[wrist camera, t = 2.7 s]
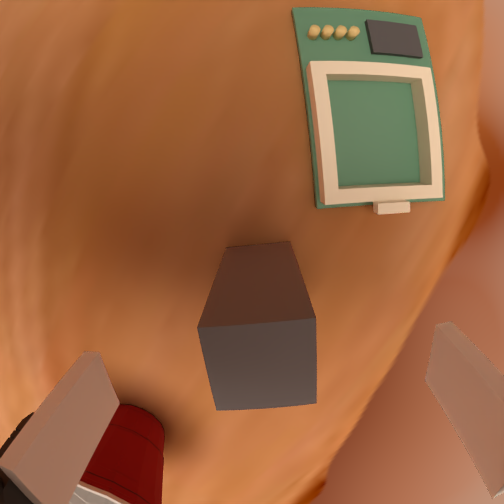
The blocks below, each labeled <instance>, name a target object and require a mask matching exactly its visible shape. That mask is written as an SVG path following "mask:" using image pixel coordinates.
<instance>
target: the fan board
mask: <svg viewBox="0 0 504 504" xmlns="http://www.w3.org/2000/svg"><path fill="white" fill-rule="evenodd" d="M292 17H293V22H294V28H295V34H296V40H297V47H298V53H299V60H300V66H301V73H302V80H303V88H304V95H305V103H306V112H307V120H308V129H309V138H310V148H311V158H312V169H313V180H314V192H315V206H316V208H317V209H322V208H335V207H348V206H361V205H373V212H374V213H376V214H378V215H379V214H393V213H407V212H410V202H425V201H445V179H444V156H443V142H442V131H441V121H440V112H439V104H438V97H437V90H436V84H435V78H434V73H433V67H432V62H431V57H430V52H429V48H428V43H427V39H426V35H425V31H424V27H423V23H422V20H421V18H419V17H414V16H408V15H402V14H395V13H388V12H380V11H371V10H360V9H346V8H320V7H299V8H292Z"/></svg>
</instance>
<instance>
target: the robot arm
mask: <svg viewBox="0 0 504 504" xmlns="http://www.w3.org/2000/svg"><path fill="white" fill-rule="evenodd" d="M425 382H426V383H427V385H428V386H429V388H430V390H431V391H432V393H433V394H434V396H435V398H436V399H437V401H438V402H439V404H440V406H441V407H442V409H443V411H444V412H445V414H446V416H447V417H448V419H449V421H450V422H451V424H452V426H453V427H454V429H455V431H456V432H457V434H458V436H459V438H460V439H461V441H462V443H463V444H464V446H465V448H466V450H467V452H468V454H469V455H470V457H471V459H472V460H473V463H474V464H475V466H476V468H477V470H478V472H479V473H480V475H481V477H482V479H483V481H484V483H485V485H486V487H487V489H488V491H489V493H490V495H491V497H492V498H494V497H496V496H498V495H500V494H502V493H504V375H503V374H502V373H501V372H500V371H499V370H498V369H497V368H496V367H495V366H494V364H493V363H491V361H490V360H489V359H488V358H487V357H486V356H485V355H484V354H483V353H482V352H481V351H480V350H479V349H478V348H477V347H476V346H475V344H474V343H472V341H471V340H470V339H469V338H468V337H466V335H464V333H463V332H462V331H461V330H460V329H459V328H458V327H457V326H455V324H454V323H453V322H446V323H441V324H436V325H435V332H434V338H433V343H432V349H431V353H430V358H429V364H428V368H427V372H426V377H425ZM119 404H120V402H119V400H118V398H117V395H116V393H115V391H114V388H113V386H112V383H111V381H110V379H109V376H108V374H107V371H106V369H105V366H104V363H103V361H102V358H101V355H100V353H99V352H88V351H84V352H83V354H82V355H81V356H80V357H79V358H78V360H77V361H76V362H75V363H74V364H73V366H72V367H71V368H70V369H69V370H68V372H67V373H66V374H65V375H64V376H63V378H62V379H61V380H60V381H59V383H58V384H57V385H56V386H55V387H54V389H53V390H52V391H51V392H50V394H49V395H48V396H47V397H46V399H45V400H44V401H43V403H42V404H41V405H40V406H39V408H38V409H37V410H36V411H35V413H34V412H32V413H31V414H30V415H28V416H27V417H25V418H24V419H23V420H22V421H21V422H20V424H19V425H18V426H17V427H16V431H15V430H14V431H13V433H12V434H11V435H10V438H8V439H7V441H6V442H5V443H4V445H3V446H2V447H1V449H0V504H68V503H69V501H70V499H71V497H72V495H73V493H74V491H75V489H76V487H77V485H78V483H79V481H80V479H81V477H82V475H83V473H84V471H85V469H86V467H87V465H88V463H89V461H90V459H91V457H92V455H93V453H94V451H95V449H96V447H97V445H98V444H99V442H100V440H101V438H102V436H103V434H104V432H105V430H106V428H107V426H108V424H109V423H110V421H111V419H112V417H113V415H114V413H115V411H116V410H117V408H118V406H119Z"/></svg>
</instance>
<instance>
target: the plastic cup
mask: <svg viewBox="0 0 504 504" xmlns="http://www.w3.org/2000/svg"><path fill="white" fill-rule="evenodd" d="M164 439H165V436H164V429H163V427H162V425H161V423H160V422H159V421H158V420H157V419H156V418H155V417H154V416H153V415H152V414H150V413H148V412H147V411H145V410H143V409H141V408H138V407H135V406H132V405H123V404H120V405H119V406H118V408H117V410H116V411H115V413H114V415H113V417H112V419H111V421H110V423H109V424H108V426H107V428H106V430H105V432H104V434H103V436H102V438H101V440H100V442H99V444H98V445H97V447H96V449H95V451H94V453H93V455H92V457H91V459H90V461H89V463H88V465H87V467H86V469H85V471H84V473H83V475H82V477H81V479H80V481H79V483H78V485H77V487H76V489H75V491H74V493H73V495H72V497H71V499H70V501H69V503H68V504H162V481H163V463H164V458H163V449H164Z"/></svg>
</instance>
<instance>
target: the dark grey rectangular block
mask: <svg viewBox="0 0 504 504" xmlns="http://www.w3.org/2000/svg"><path fill="white" fill-rule="evenodd" d="M197 329H198V333H199V338H200V343H201V347H202V352H203V356H204V361H205V365H206V369H207V374H208V378H209V382H210V386H211V390H212V394H213V398H214V402H215V406H216V410H247V409H263V408H277V407H288V406H298V405H307V404H315V403H316V395H317V351H316V316H315V313H314V310H313V307H312V304H311V301H310V298H309V295H308V292H307V289H306V286H305V283H304V280H303V277H302V275H301V272H300V269H299V266H298V263H297V260H296V257H295V254H294V251H293V249H292V246H291V243H290V241H289V242H279V243H268V244H258V245H248V246H238V247H228V248H226V250H225V253H224V255H223V258H222V261H221V263H220V266H219V269H218V272H217V274H216V277H215V280H214V283H213V285H212V288H211V291H210V294H209V296H208V299H207V302H206V305H205V307H204V310H203V313H202V316H201V319H200V321H199V324H198V327H197Z"/></svg>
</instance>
